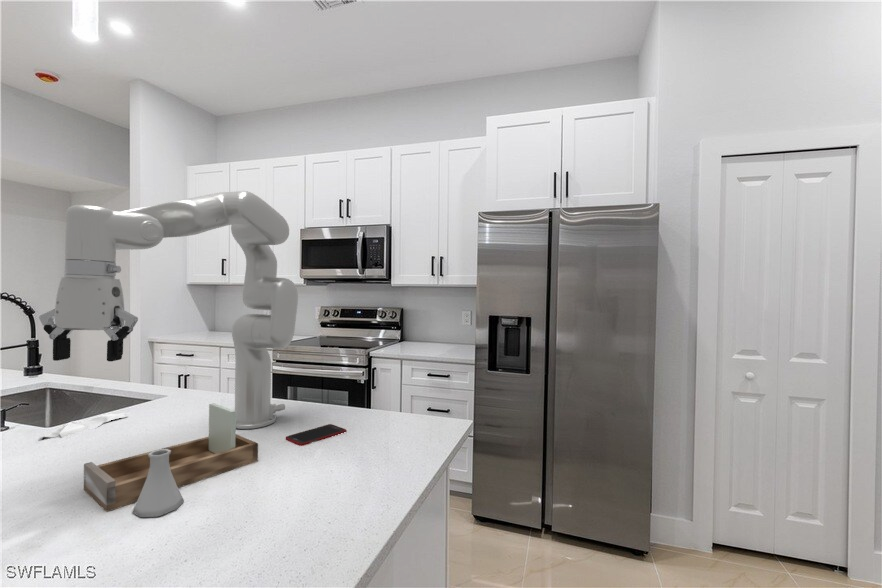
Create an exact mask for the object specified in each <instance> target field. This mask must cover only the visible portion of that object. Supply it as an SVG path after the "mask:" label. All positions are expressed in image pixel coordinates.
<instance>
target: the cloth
mask: <svg viewBox="0 0 882 588" xmlns="http://www.w3.org/2000/svg"><path fill="white" fill-rule="evenodd" d="M130 413H131V414H133V412H131V411H129V412H121V413H110V414H109V413H108V414H102V415H99V416H95V418H94V417H91V418H92V419H90V418H88V419H89V420H90V421H88V420H85V419H84V420H85V422H84V421H81V420H82V419H79V420H73V421H70V422H68V423H65V424H63V425H66V424H67V425H66V426H63V425H62V426H63V427H61V426H60V427H59V428H60V429H59V428H55V429H54V430H52V431H50V433H48V434H47V435H43V436H39V437H38V438H37V439H36V440H35V443H38V442H39V441H42V440H43V439H44V438H51V439H53V438H57V437H61V438H65V436H66V437H69V436H72V434H73V435H76V434H75V433H77V434H79V432H81V433H84V432H87V431H89V430H88V429H91V430H93V429H92V428H95V429H97V428H99V427H101V426H102V425H103V424H105V423H108V422H111V420H114V421H116V420H115V419H118V420H120V419H119V418H121V419H124V418H128V417H127V414H128V415H130ZM78 421H81V422H83V423H80V424H76V423H75V422H77V423H79V422H78ZM86 421H87V422H86ZM91 423H92V424H91ZM98 426H99V427H98ZM96 427H97V428H96ZM86 430H87V431H86ZM83 431H84V432H83ZM68 435H69V436H68Z"/></svg>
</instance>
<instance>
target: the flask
mask: <svg viewBox="0 0 882 588" xmlns="http://www.w3.org/2000/svg"><path fill="white" fill-rule="evenodd" d="M150 452H151V451H150ZM170 453H171V450H168V449H162V448H159V450H158V449H156V451H155V450H152V452H151V453H149V454H148V457H149V458H150V468H149V472H148V476H147V479H146V481H145V484H144V486H143V489H142V491H141V493H140V496H139V498H138V500H137V502H135V505H134V507H133V509H132V514H134V515H137V517H140V518H153V517H154V518H155V517H160V516H163V515H165V514H168V513H171V512H173V511H174V510H178V508H179V507H180V506H181V505H182V503H184V502H185V499H184V498H183V494H182V493H181V491H180V489H179V487H177V485H176V482H175V480H174V478H173V475H172V473H171V469H170V465H169V454H170Z"/></svg>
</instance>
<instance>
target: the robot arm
mask: <svg viewBox="0 0 882 588" xmlns="http://www.w3.org/2000/svg"><path fill="white" fill-rule="evenodd" d="M65 215H66V216H65V242H64V243H65V246H64V247H65V248H64V277H61V278H60V281H59V284H58V289H57V294H56V298H55V306H54V309H51V310H50V311H46V312H45V313H42V314H41V315H39V316H38V317H39V318H38V319H39V321H40V323H41V325H42V326H43V330H44V331H45V333H47V334H48V338H49V339H50V340H52V361H64V360H68V359H70V358H71V342H72V340H71V338H70V337H68V336H69V335H70V334H71V333H72V332H73V331H75V330H76V331H104V333H105V334H106V335H107V336H108V337H109V340H107V342H106V361H107V362H115V361H119V360H122V358H123V354H124V340H125V339H127V338H128V336H129V335H130V334H131V333H132V332H133V331H134V328H135V326H136V324H137V323H138V321H139V317H138V316H136V315H134V314H132V313H131V312H128V311H127V310H125V300H124V299H125V298H124V292H123V291H124V290H123V287H122V284H121V280H120V278H116V274H119V273H121V271H122V267H121V266H120V265H117V263H116V260H117V258H116V257H117V252H116V251H117V250H132V251H133V250H148V249H151V248H152V249H153V248H155V247H156V246H158V245H159V244H160V243H161V242H162V240H163V239H166V238H181V237H183V238H184V237H189V236H194V235H199V234H203V233H206V232H208V231H209V232H210V231H212V230H216V229H219V228H222V227H226V226H230V230H231V231H230V232H231V234H232V237H233V239H234V240H235V242H236V243H237V244H238V245H239V247H240V248H241V250H242V251H243V254H244V256H245V273H244V279H243V280H244V281H243V289H242V302H243V304H244V305H245V306H246V307H247V308H249V309H252V310H257V311H258V310H262V311H271V312H270V314H265V313H264V314H262V313H248V314H243V315H241V316H239V317H238V318H237V319H235V321H234V322H233V325H232V327H231V335H232V336H231V337H232V342H233V347H234V354H235V360H234V362H235V372H234V411H236V429H239V430H240V429H241V430H248V429H249V430H252V429H259V428H263V427H267V426H270V425H272V424H274V423H275V422H276V420H277V419H276V418H277V416H276V415H275V414H276V413H277V412H280V411H284V410H286V404H285V403H280V404H276V403H273V404H272V403H271V394H272V393H271V386H272V385H271V384H272V383H271V381H272V379H271V378H272V374H271V373H272V359H271V356H270V354H269V350H268V349H276V350H277V349H279V350H280V349H285V348H286V347H288V346H289V345H290V344H291V342H292V340H293V339H294V334H295V331H296V330H295V329H296V328H295V327H296V320H297V313H298V312H297V311H298V304H299V292H298V289H297V286H296V284H295V283H294V282H293V281H292V280H291V279H289V278H286V277H277V276H278V275H277V273H278V260H277V256H276V254H275V253H274V250H273V249H272V248H271V247H270V246H278V245H282V244H284V243H285V242H286V241H287V240H288V239H289V236H290V227H289V223H288V222H287V220H286V219H285V217H284V216H283V215H282V214H280V212H278V211H277V210H276V209H275V208H273V207H272V206H271V205H270V204H269V203H267V202H266V201H265V200H264V199H263V198H261V197H259V196H258V195H256V194H255V193H254V192H251V191H247V190H246V191H245V190H240V191H239V190H238V191H223V192H221V191H220V192H215V193H210V194H205V195H200V196H195V197H189V198H184V199H178V200H173V201H167V202H163V203H160V204H159V203H158V204H154V205H150V206H143V207H138V208H132V209H131V208H130V209H126V210H120V211H119V210H118V211H117V210H112V209H110V208H107V207H102V206H97V205H89V204H74V205H72V206H71V205H70V206H69V207H68V208H67V209H66V214H65Z"/></svg>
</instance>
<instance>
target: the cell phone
mask: <svg viewBox="0 0 882 588" xmlns="http://www.w3.org/2000/svg"><path fill="white" fill-rule="evenodd" d="M344 432H346V433H347V428H343V427H341V426H338V425H334V424H332V423H328V424H324V425H321V426H318V427H315V428H311V429H307V430H304V431H300V432H297V433H292V434H290V435H287V436H285V440H286V441H288V442H289V443H292V444H294V445H297V446H299V447H303V446H307V445H310V444H312V442H313V443H315V442H320V441H323V440H326V439H329V438H333V437H336V436H339V435H338V434H340V435H342V434H341V433H343V434H345V433H344ZM335 435H336V436H335ZM332 436H333V437H332Z"/></svg>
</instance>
